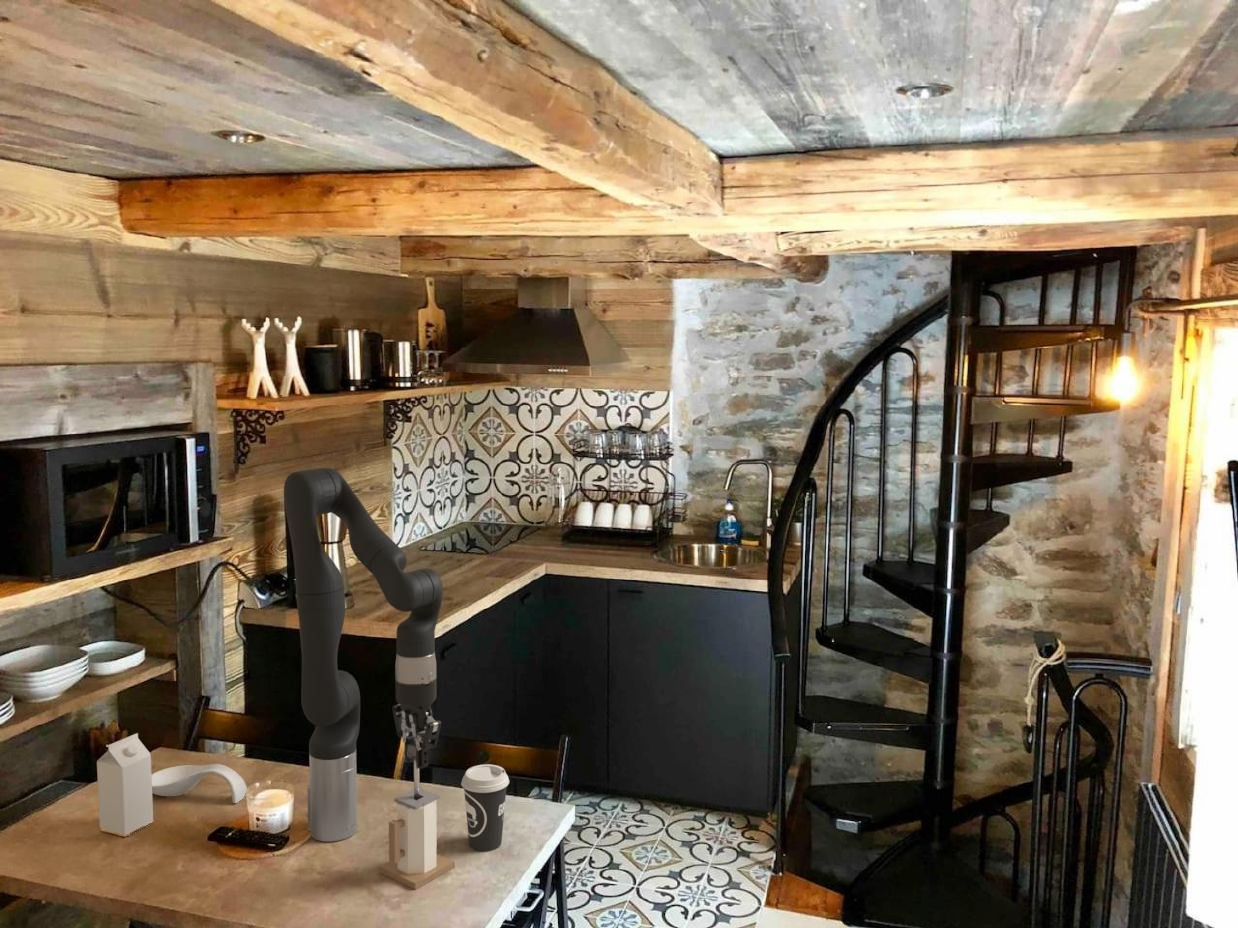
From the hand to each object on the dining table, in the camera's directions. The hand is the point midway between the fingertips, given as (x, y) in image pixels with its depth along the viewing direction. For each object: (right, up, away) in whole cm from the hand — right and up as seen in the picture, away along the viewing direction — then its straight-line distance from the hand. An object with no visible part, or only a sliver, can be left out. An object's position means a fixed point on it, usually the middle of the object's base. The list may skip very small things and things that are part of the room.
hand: (416, 763), depth 187 cm
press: (0, -21, +2) cm, 21 cm away
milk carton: (-64, -19, +17) cm, 68 cm away
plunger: (0, -10, +1) cm, 10 cm away
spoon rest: (-56, -17, +33) cm, 68 cm away
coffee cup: (+11, -20, +13) cm, 27 cm away
